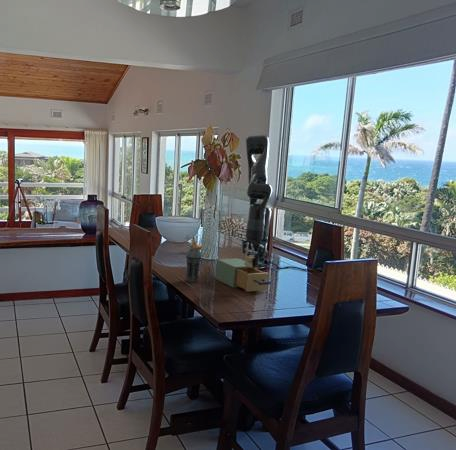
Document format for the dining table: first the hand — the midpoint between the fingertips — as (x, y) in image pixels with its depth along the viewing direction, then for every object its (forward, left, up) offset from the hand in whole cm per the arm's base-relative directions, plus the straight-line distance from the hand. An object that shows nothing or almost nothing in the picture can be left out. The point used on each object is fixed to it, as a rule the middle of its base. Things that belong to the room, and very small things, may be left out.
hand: (251, 265), depth 206 cm
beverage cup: (+20, -16, -11) cm, 28 cm away
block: (0, 0, 0) cm, 0 cm away
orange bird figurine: (-15, -67, -11) cm, 70 cm away
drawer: (0, +2, -10) cm, 10 cm away
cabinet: (0, -10, -11) cm, 15 cm away
